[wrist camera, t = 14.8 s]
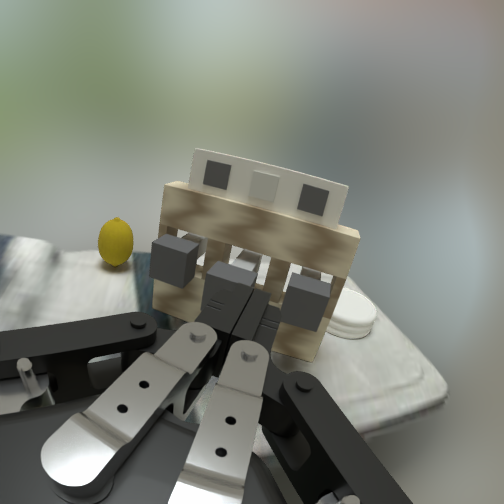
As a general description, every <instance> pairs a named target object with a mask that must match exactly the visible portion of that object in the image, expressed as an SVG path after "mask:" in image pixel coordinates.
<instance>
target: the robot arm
mask: <svg viewBox="0 0 504 504" xmlns="http://www.w3.org/2000/svg"><path fill="white" fill-rule="evenodd" d="M254 289H255V290H254ZM271 294H272V293H269V292H266V291H263V290H260V289H257V288H254V287H251V286H248V285H245V284H242V283H238V284H237V286H236V287H235V289H234V290H233V292H231V291H228V290H225V289H223V290H220V291H218V292H216V293H215V294H214V295H213V296H212V298H211V299H210V300H209V302H208V303H207V305H206V306H205V307H204V309H203V310H202V311H201V313H200V314H199V315H198V317H197V318H196V319H195V321H194V322H189V323H186V324H184V325H182V326H181V327H180V328H179V329H178V330H167V329H161V328H157V322H156V320H155V319H154V318H153V317H152V316H150V315H148V314H146V313H142V312H130V313H124V314H118V315H112V316H106V317H100V318H93V319H87V320H81V321H74V322H67V323H61V324H54V325H47V326H40V327H32V328H25V329H17V330H10V331H2V332H0V504H287V503H286V501H285V499H284V497H283V495H282V493H281V491H280V489H279V488H278V486H277V484H276V482H275V480H274V478H273V476H272V474H271V472H270V470H269V469H268V467H267V466H266V464H265V463H264V462H263V461H262V460H261V458H259V457H258V456H257V455H256V454H255V453H254V452H252V448H253V444H254V439H255V434H256V430H257V425H258V423H259V424H261V425H262V432H263V434H264V436H265V438H266V440H267V441H268V443H269V445H270V447H271V449H272V450H273V452H274V454H275V456H276V457H277V459H278V461H279V463H280V464H281V466H282V468H283V470H284V471H285V473H286V475H287V476H288V478H289V480H290V481H291V483H292V485H293V487H294V488H295V490H296V492H297V493H298V495H299V496H300V498H301V500H302V501H303V503H304V504H413V503H412V502H411V500H410V499H409V498H408V497H407V495H406V494H405V493H404V492H403V490H402V489H401V488H400V487H399V485H398V484H397V483H396V481H395V480H394V479H393V478H392V476H391V475H390V474H389V472H388V471H387V470H386V469H385V467H384V466H383V465H382V464H381V462H380V461H379V460H378V458H377V457H376V456H375V454H374V453H373V452H372V450H371V449H370V448H369V447H368V445H367V444H366V443H365V441H364V440H363V439H362V437H361V436H360V435H359V433H358V432H357V431H356V429H355V428H354V427H353V425H352V424H351V423H350V421H349V420H348V419H347V417H346V416H345V415H344V413H343V412H342V411H341V409H340V408H339V407H338V405H337V404H336V403H335V401H334V400H333V399H332V397H331V396H330V395H329V393H328V392H327V391H326V389H325V388H324V387H323V385H322V384H321V383H320V381H319V380H318V379H317V378H316V377H314V376H313V375H311V374H309V373H306V372H300V371H296V372H291V373H289V374H288V375H287V374H286V373H284V372H282V371H281V370H279V369H278V368H277V367H276V366H275V365H274V364H273V362H272V360H271V357H270V353H271V349H272V346H273V343H274V340H275V337H276V334H277V330H278V327H279V324H280V321H281V318H282V314H281V311H280V308H278V307H275V306H272V305H269V301H270V297H271ZM120 352H121V357H118V358H113V359H108V360H103V361H98V362H93V363H88V362H89V361H90V360H91V359H92V358H95V357H100V356H105V355H110V354H115V353H120ZM221 371H222V372H221ZM220 373H221V375H220ZM219 375H220V377H219ZM211 376H215V377H219V380H218V383H216V384H215V387H214V389H213V392H212V395H211V397H210V400H209V402H208V405H207V408H206V410H205V413H204V416H203V418H202V421H201V423H200V424H195V423H189V422H185V419H186V418H187V416H188V415H189V413H190V412H191V410H192V409H193V407H194V406H195V404H196V403H197V401H198V400H199V398H200V397H201V395H202V394H203V392H204V391H205V389H206V385H207V383H208V382H209V380H210V378H211Z"/></svg>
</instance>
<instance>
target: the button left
mask: <svg viewBox="0 0 504 504" xmlns="http://www.w3.org/2000/svg"><path fill="white" fill-rule="evenodd" d="M207 242H208V238H206V237H203V236H200V235H196V234H193V233H190V232H189V233H188V234H186V235H185V236H183V237H182V238H178V237H175V236H172V235H169V234H165V235H163V236H161V237H160V238H158V239H156V240H155V241H153V242H152V249H151V260H150V274H149V277H151V278H154V279H157V280H159V281H162V282H165V283H167V284H170V285H173V286H176V287H178V288H181V289H183V288H184V287H185V286H186V285H187V284H188V283H189V282H190V281H191V280H192V279H193V278H194V276H195V269H196V263H197V259H198V258H199V257H200V256H202V255H203V254H204V253H205V252H206V247H207Z"/></svg>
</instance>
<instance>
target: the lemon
mask: <svg viewBox="0 0 504 504" xmlns="http://www.w3.org/2000/svg"><path fill="white" fill-rule="evenodd" d="M98 239H99V240H98V248H99V253H100V255H101V257H102V258H103V260H104V261H106V262H107V263H109V264H111V265H112V266H114V267H117V266H118V265H119V264H122V263H124V262H125V261H127V260H128V258H129V257H130V255H131V253H132V250H133V234H132V230H131V228H130V226H129V225H128V224H127V223H126V222H125V221H123V220H120V218H118V217H116V218H114V219H113V220H110V221H108V222H107V223H105V224H104V225H103V227H102V228H101V231H100V234H99V238H98Z"/></svg>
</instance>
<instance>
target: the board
mask: <svg viewBox="0 0 504 504" xmlns="http://www.w3.org/2000/svg"><path fill="white" fill-rule="evenodd" d="M178 229H180V230H184V231H187V232H190V233H193V234H196V235H200V236H203V237H206V238H208V242H207V247H206V254H205V259H204V265H203V266H200V265H197V264H196V269H195V276H194V278H193V279H192V280H191V281H190V282H189V283H188V284H187V285H186V286H185V287H184V288H183V289H181V288H178V287H176V286H173V285H170V284H167V283H165V282H162V281H159V280H157V279H154V291H153V307H152V308H154V309H156V310H159V311H161V312H164V313H166V314H169V315H171V316H174V317H176V318H179V319H182V320H184V321H187V322H194V321H195V319H196V318H197V317H198V315H199V314H200V313H201V311H200V308H201V302H202V296H203V289H204V283H205V277H206V273H207V272H208V271H209V270H210V268H211V267H212V266H213V265H214V264H215V263H216V262H217V261H220V262H223V263H227V264H228V263H229V258H230V253H231V248H232V245H233V246H237V247H240V248H243V249H247V250H250V251H253V252H257V253H260V254H264V255H267V256H270V257H271V261H270V265H269V268H268V272H267V276H266V280H265V284H264V286H263V285H260V284H257V283H255V287H254V288H257V289H260V290H263V291H266V292H269V293H272V294H271V297H270V301H269V305H272V306H275V307H278V308H280V310H281V307H282V303H283V300H284V297H285V294H286V292H283V288H284V285H285V282H286V278H287V275H288V271H289V268H290V264H291V263H293V264H297V265H300V266H303V267H307V268H310V269H313V270H317V271H320V272H323V273H327V274H330V275H333V278H332V281H331V287H330V299H329V302H328V304H327V307H326V309H325V312H324V315H323V317H322V320H321V322H320V325H319V327H318V330H317V332H314V331H310V330H307V329H303V328H300V327H297V326H293V325H290V324H287V323H284V322H280V324H279V327H278V330H277V334H276V337H275V340H274V343H273V346H272V349H271V351H275V352H278V353H281V354H285V355H288V356H291V357H295V358H298V359H301V360H305V361H308V362H313V360H314V357H315V355H316V353H317V351H318V348H319V346H320V344H321V341H322V339H323V337H324V334H325V332H326V329H327V327H328V324H329V322H330V320H331V317H332V315H333V312H334V310H335V307H336V305H337V302H338V299H339V297H340V294H341V292H342V289H343V286H344V284H345V281H346V278H347V276H348V273H349V270H350V267H351V264H352V261H353V259H354V256H355V253H356V250H357V247H358V244H359V242H360V236H359V232H358V230H354V229H351V228H348V227H345V226H342V225H338V226H337V229H333V228H330V227H326V226H323V225H320V224H316V223H313V222H310V221H306V220H303V219H299V218H296V217H292V216H289V215H285V214H282V213H278V212H275V211H271V210H267V209H264V208H260V207H257V206H253V205H249V204H246V203H242V202H238V201H234V200H231V199H227V198H223V197H219V196H215V195H211V194H207V193H203V192H199V191H196V190H192V189H188V183H184V182H180V181H175V182H172V183H168V184H165V185H164V192H163V200H162V208H161V216H160V224H159V233H158V238H160V237H161V236H163V235H165V234H169V235H172V236H175V237H177V231H178ZM254 290H255V289H254Z"/></svg>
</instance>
